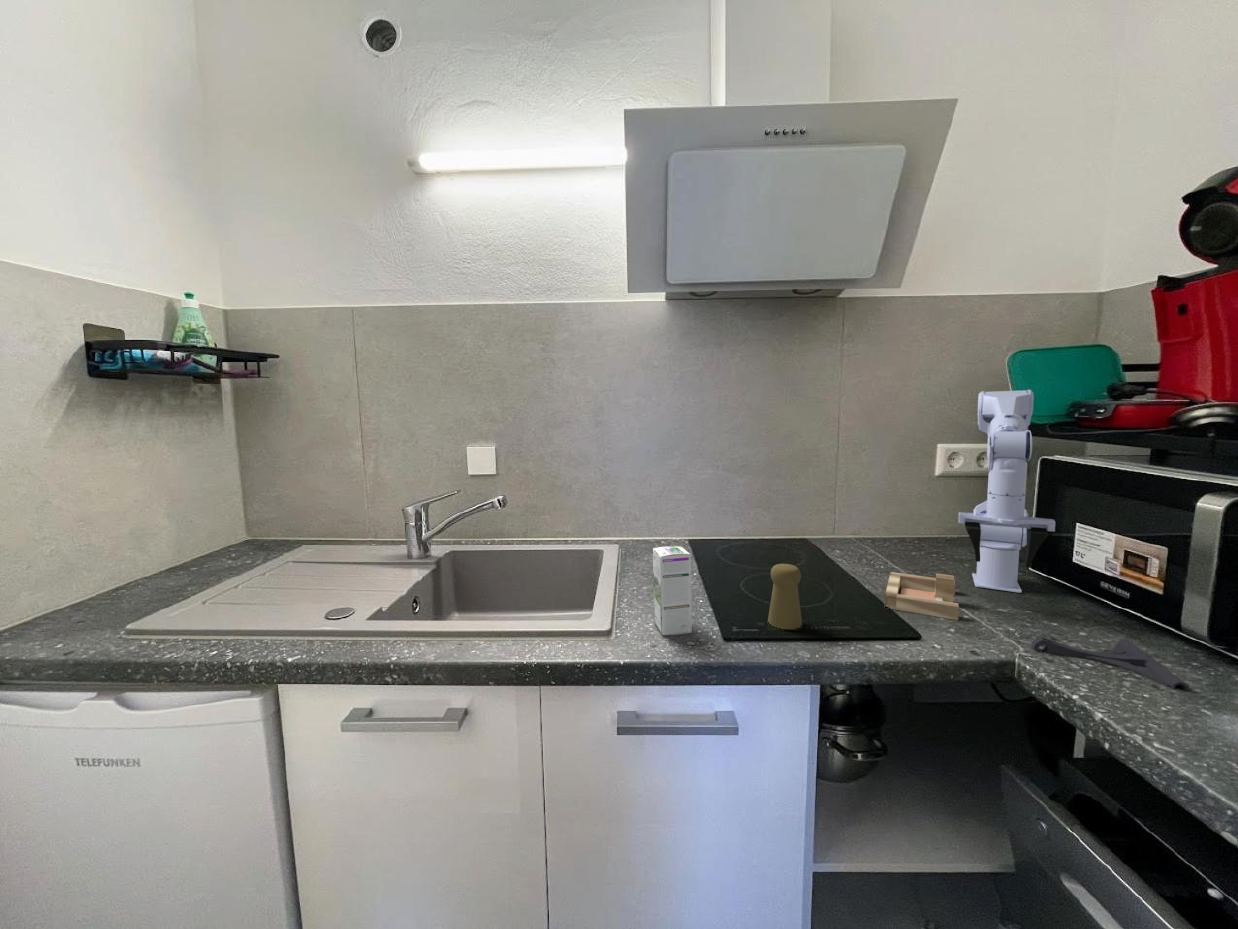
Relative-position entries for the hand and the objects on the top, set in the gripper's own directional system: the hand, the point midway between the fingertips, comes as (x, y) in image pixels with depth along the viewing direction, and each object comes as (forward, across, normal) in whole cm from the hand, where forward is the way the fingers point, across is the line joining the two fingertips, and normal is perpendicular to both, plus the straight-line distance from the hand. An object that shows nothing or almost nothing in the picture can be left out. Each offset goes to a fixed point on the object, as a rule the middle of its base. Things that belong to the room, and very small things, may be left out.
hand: (1001, 563), depth 96 cm
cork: (+9, -34, -29) cm, 45 cm away
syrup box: (+9, -50, -42) cm, 66 cm away
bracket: (+10, +10, -17) cm, 22 cm away
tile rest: (+9, -14, -3) cm, 17 cm away
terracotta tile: (+9, -14, -3) cm, 17 cm away
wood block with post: (+9, -10, -2) cm, 14 cm away
